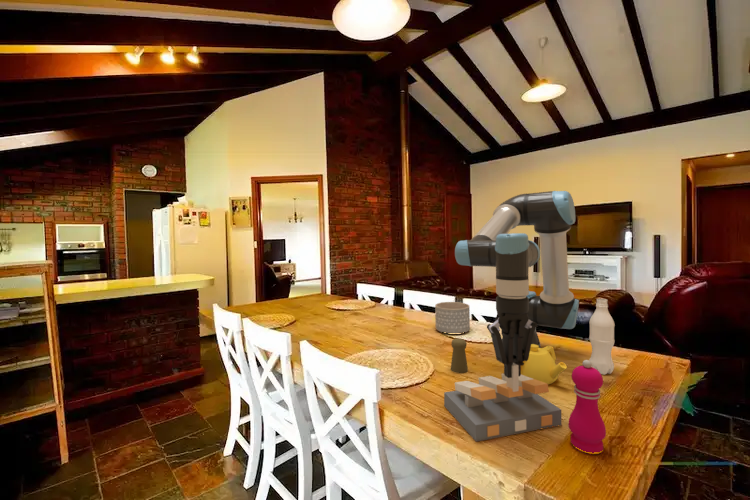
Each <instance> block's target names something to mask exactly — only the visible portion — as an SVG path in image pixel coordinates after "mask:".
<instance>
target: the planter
mask: <svg viewBox="0 0 750 500" xmlns="http://www.w3.org/2000/svg"><path fill="white" fill-rule="evenodd" d="M434 308H435V309H434V312H435V317H434V318H435V330H437V331H439V332H440V333H442V332H446V333H463V332H465V333H467V332H469V331H470V330H471V327H470V326H471V322H470V321H471V320H470V316H471V315H470V314H471V313H470V312H471V311H470V304H468V303H465V302H460V301H442V302H438V303H436V304H435V306H434ZM442 334H443V333H442ZM463 334H464V333H463Z"/></svg>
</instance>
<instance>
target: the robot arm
mask: <svg viewBox="0 0 750 500" xmlns="http://www.w3.org/2000/svg"><path fill="white" fill-rule="evenodd" d="M575 222H576V209H575V203H574V198H573V197H572V194H571V193H570V192H569V191H566V190H550V191H541V192H533V193H532V192H531V193H530V192H529V193H521V194H517V195H514V196H512V197H510V198H508V199H506V200H505V201H503V202H502V203H500V204H499V205H498V206H497V207H496V208H495V209H494V210H493V213H492V216H491V218H490V219H489V220H488V221H487V222H486V223H485V224H484V225H483V226H482V227H481V228H480V229H479V231H478V232H476V233H475V235H474V236H473V237H472V238H471V239H465V240H459V241H458V242H457V243H456V245H455V248H454V257H455V260H456V263H457V264H458V265H460V266H469V267H489V268H490V267H491V268H492V267H493V268H495V293H496V294H497V296H496V297H495V310H496V316H495V321H494V322H493V323H492V324H490V323H489V324H487V325H486V329H488V332H489V333H490V337H491V341H492V345H493V349H494V355H495V359H496V361H498V362H499V363H501V364H503V373H504V375H505V376H506V377H507V387H509V388H512V390H513V392H516V391H519V376H520V375H521V366H523V365H524V363H523V361H527V360H528V358H529V353H530V348H531V344H535V345H538V346H539V348H542V347H541V346H542V345H541V342H540V338H539V336H538V333H537V327H538V326H542V327H550V328H555V329H556V328H557V329H561V330H562V329H564V330H565V329H566V330H572V329H574V328H575V327H576V324H577V323H576V322H577V318H578V313H579V308H580V307H579V305H580V300H579V299H577V298H575V295H574V293H573V292H572V291H570V285H569V266H568V248H567V247H568V246H567V232H569V231H570V230H571V228H572V225H573V224H574V225H575ZM520 226H533V230H534V232H535V233H537V234H538V235H539V236H538V237H539V245H538V244H537V243H536V242H534V241H532V240H531V239H529V235H528V234H527V233H524V232H522V233H518V232H517V233H516V232H515V233H514V232H513V233H509V232H510V231H511V230H513V229H516V227H520ZM539 259H541V260H540V261H541V262H540V263H541V273H542V285H543V288H542V289H543V290H542V291H541V292H540V294H539V295H537V293H536V292H535V291H531V290H529V289H530V288H529V287H530V286H529V285H530V284H529V283H530V282H529V268H531V267H533V266H534V265H536V263H538V261H539ZM500 332H501V333H500ZM523 354H524V355H523Z"/></svg>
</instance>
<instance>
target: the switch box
mask: <svg viewBox="0 0 750 500" xmlns="http://www.w3.org/2000/svg"><path fill="white" fill-rule="evenodd" d="M522 390H523V396H517V397H511V398H508V397H506V396H504V395H501V394H499V393H497V392H496V398H494V399H488V400H479V399H477V398H474V397H472V396H469V395H467V394H464V393H462V392H459V391H456V390H451V391H445V392H444V393H443V398H444V399H443V403H444V407H445V408H446V410H447V411H448V412H449V413H450V414H451V415H452V416H453V418H454V419H455V420H456V421H457V422H458V424H460V425H461V427H462V428H463V429H464V430H465V432H466V433H468V435H469V436H470V437H471V439H473V440H474V441H475V442H480V441H481V442H482V441H487V440H491V439H496V438H497V439H498V438H502V437H506V436H507V437H508V436H512V435H518V434H522V433H527V432H532V431H538V430H537V429H539V430H542V429H541V428H544V429H548V428H547V427H549V428H553V427H552V426H554V427H559V426H562V409H561V408H560V407H558V406H557V405H555V404H553V403H552V402H551V401H549V400H548V399H545V398H544V396H543V397H542V396H541V395H540V394H534V393H531V392H529V391H526V390H524V389H522ZM558 425H559V426H558Z"/></svg>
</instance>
